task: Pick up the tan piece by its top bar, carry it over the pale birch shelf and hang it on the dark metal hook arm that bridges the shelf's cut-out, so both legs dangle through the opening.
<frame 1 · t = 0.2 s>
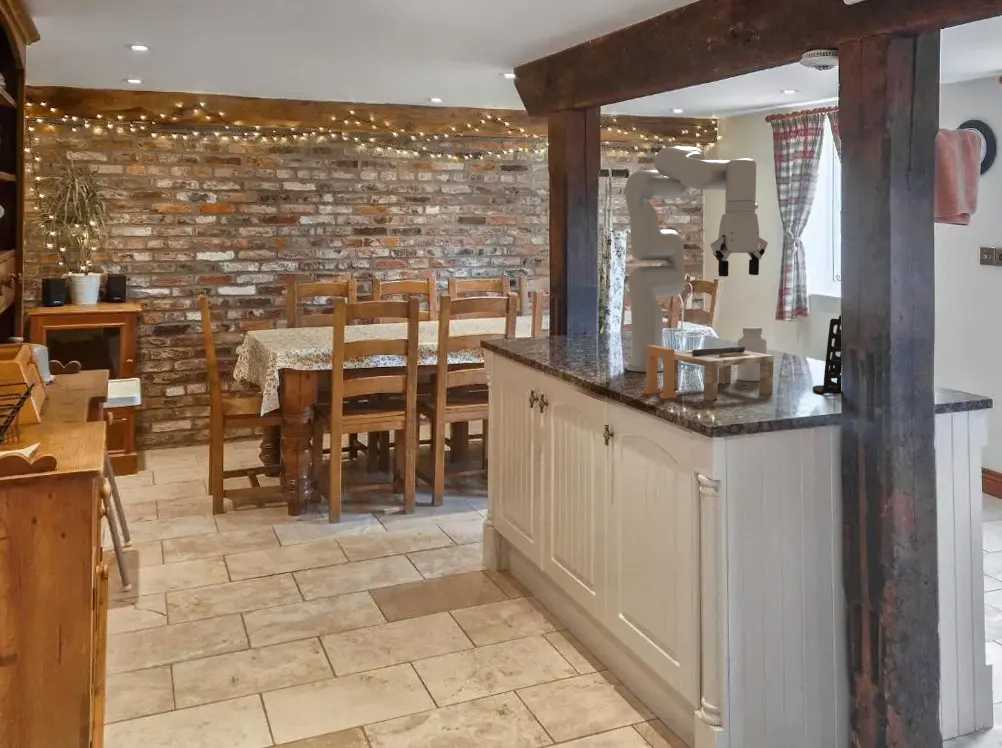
hand: (738, 275, 241), 31 cm above the counter, tool pointing down, fingers open, 9 cm apart
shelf: (717, 390, 250), on the counter
tan piece: (659, 395, 245), on the counter
holder: (830, 392, 246), on the counter
pill bottle: (751, 380, 266), on the counter
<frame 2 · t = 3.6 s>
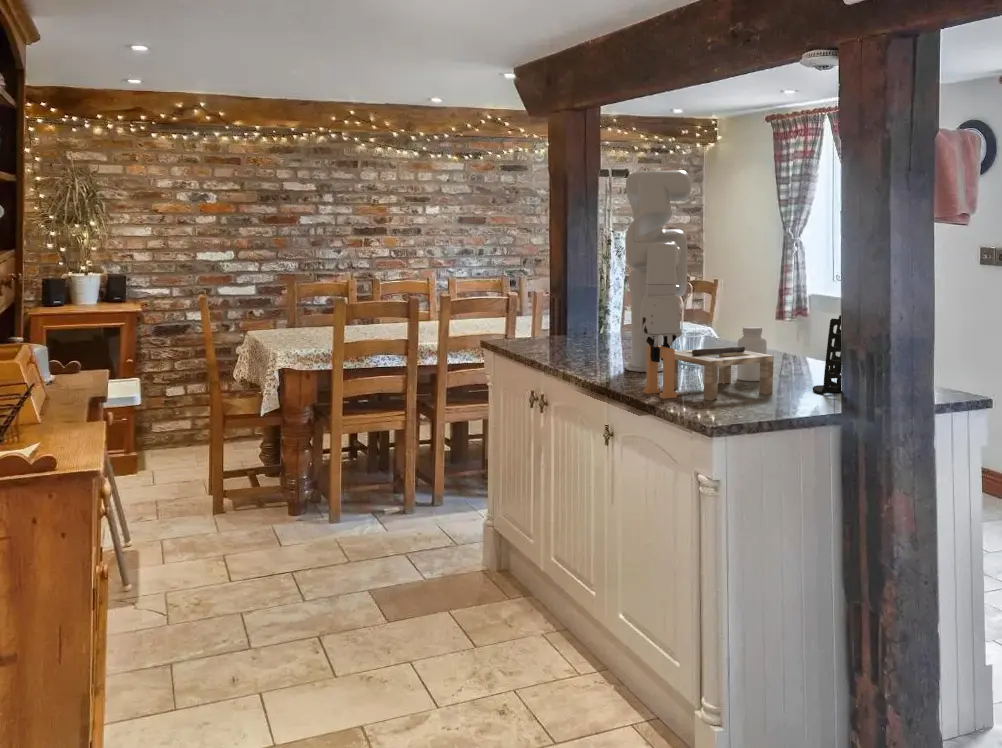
hand: (660, 360, 244), 9 cm above the counter, tool pointing down, fingers closed on tan piece, 2 cm apart
tan piece: (659, 394, 245), on the counter, touching gripper
everything else where it was.
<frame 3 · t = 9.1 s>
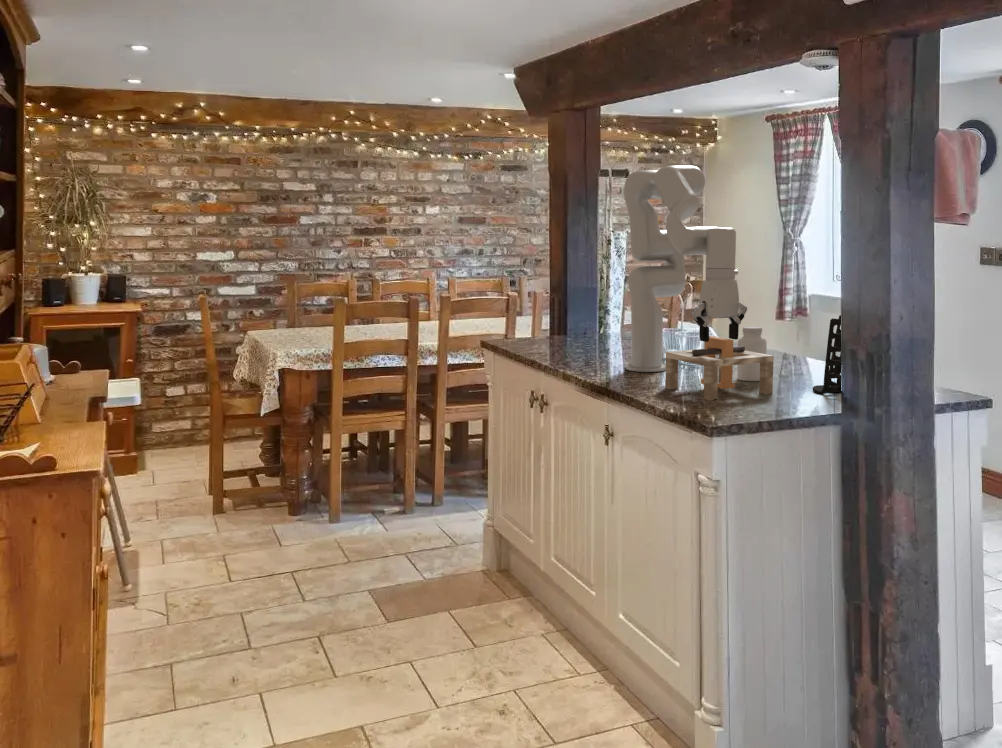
hand: (718, 340, 248), 14 cm above the counter, tool pointing down, fingers open, 9 cm apart
tan piece: (717, 385, 249), point 1 cm above the counter, touching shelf
everything else where it was.
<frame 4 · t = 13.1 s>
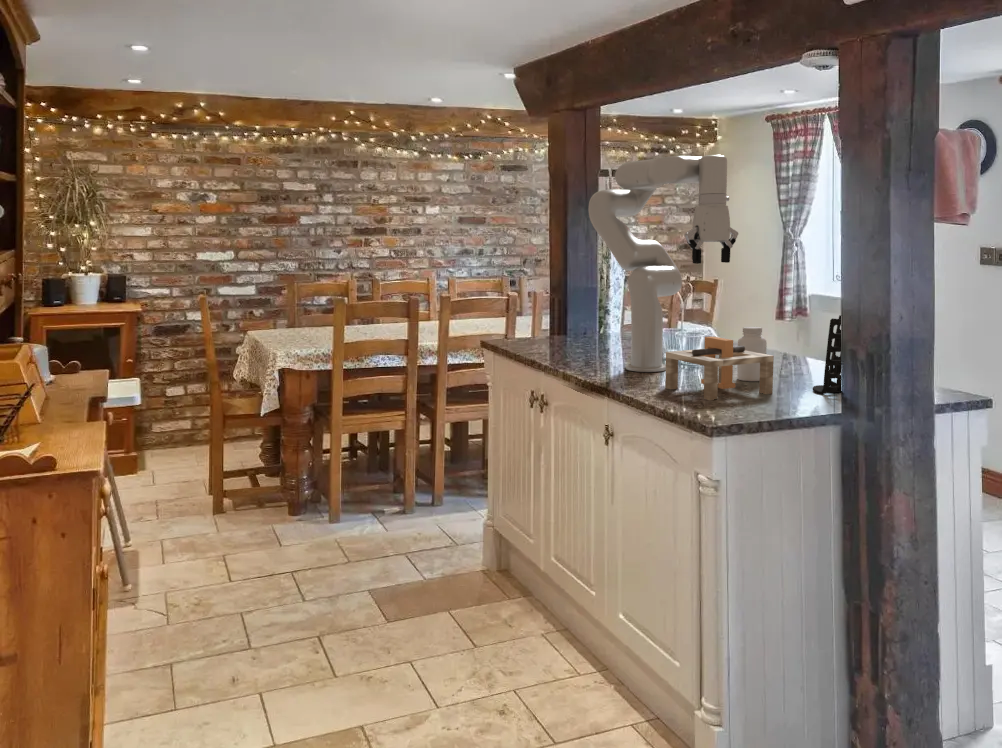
hand: (711, 262, 261), 33 cm above the counter, tool pointing down, fingers open, 9 cm apart
nothing on the counter moved.
at the end: tan piece 0.0 cm off-centre on the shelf, point 1.4 cm above the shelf's base; tan piece touching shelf; the gripper is holding nothing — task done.
